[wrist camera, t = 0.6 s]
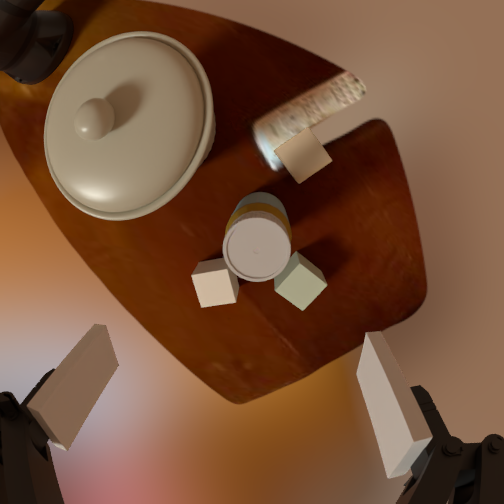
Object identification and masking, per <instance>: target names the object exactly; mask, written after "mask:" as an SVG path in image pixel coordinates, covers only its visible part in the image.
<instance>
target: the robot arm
mask: <svg viewBox="0 0 504 504" xmlns="http://www.w3.org/2000/svg"><path fill="white" fill-rule="evenodd" d="M44 1H45V0H0V71H4V72H5V73H6V74H8V75H9V76H10V77H12V78H13V79H14V80H15V81H17V82H19V83H22V84H28V85H33V84H37V83H39V82H41V81H43V80H44V79H45V78H47V77H48V76H49V75H50V74H51V73H52V72H53V71H54V70H55V69H56V67H57V66H58V65H59V63H60V62H61V61H62V59H63V57H64V56H65V54H66V52H67V50H68V48H69V45H70V42H71V39H72V35H73V23H72V20H71V18H70V17H69V16H68V15H66V14H64V13H62V12H60V11H55V10H54V11H44V10H39V11H35V10H36V9H37V8H38V7H39V6H40V5H41V4H42V3H43V2H44ZM118 366H119V364H118V361H117V358H116V356H115V352H114V350H113V346H112V343H111V340H110V337H109V333H108V330H107V327H106V325H99V324H94V326H93V327H92V328H91V329H90V330H89V331H88V332H87V333H86V335H85V336H84V337H83V338H82V339H81V340H80V341H79V342H78V344H77V345H76V346H75V347H74V348H73V349H72V350H71V352H70V353H69V354H68V355H67V356H66V358H65V359H64V360H63V361H62V362H61V364H60V365H59V366H58V367H57V368H56V369H52V370H50V371H49V372H47V373H46V374H45V375H44V376H43V377H42V378H41V380H40V382H38V383H37V385H36V387H34V388H33V389H32V391H31V392H30V393H29V394H28V396H27V397H26V398H25V399H24V401H23V402H22V403H21V404H19V403H18V401H17V400H16V398H15V397H14V395H13V394H12V393H11V392H2V393H0V504H64V501H63V498H62V494H61V491H60V488H59V484H58V481H57V477H56V473H55V470H54V465H53V462H52V457H51V452H50V447H49V445H48V444H47V441H48V439H50V440H51V441H52V443H53V444H54V445H55V446H56V447H59V448H61V449H63V450H65V451H68V450H69V448H70V446H71V444H72V442H73V441H74V439H75V437H76V435H77V434H78V432H79V430H80V428H81V427H82V425H83V423H84V421H85V420H86V418H87V416H88V415H89V413H90V411H91V409H92V408H93V406H94V405H95V403H96V401H97V400H98V398H99V396H100V394H101V393H102V391H103V390H104V388H105V387H106V385H107V383H108V382H109V380H110V379H111V377H112V375H113V374H114V372H115V371H116V369H117V367H118ZM356 375H357V377H358V381H359V384H360V387H361V389H362V393H363V396H364V399H365V402H366V405H367V408H368V412H369V415H370V418H371V421H372V424H373V428H374V431H375V435H376V438H377V442H378V445H379V448H380V452H381V456H382V459H383V463H384V466H385V470H386V474H387V477H388V479H389V478H393V477H397V476H401V475H405V474H406V473H407V471H408V470H409V469H410V468H411V470H412V473H413V475H412V476H411V477H410V478H409V480H408V481H407V482H406V483H405V484H404V486H406V487H405V489H404V490H403V492H402V494H401V495H400V497H399V499H398V500H397V502H396V504H446V503H447V501H448V504H504V438H503V437H501V436H500V435H497V434H491V435H488V436H487V437H485V439H484V440H483V441H482V442H481V443H463V442H462V441H461V440H460V439H459V438H457V437H453V436H451V435H450V434H449V432H448V430H447V428H446V426H445V424H444V422H443V420H442V418H441V416H440V414H439V412H438V410H436V406H435V404H434V403H433V400H432V398H431V396H430V395H429V393H428V392H427V391H426V390H425V389H424V388H423V387H421V386H420V385H419V386H414V387H409V385H408V383H407V381H406V379H405V377H404V375H403V373H402V371H401V369H400V367H399V365H398V363H397V361H396V360H395V357H394V355H393V354H392V352H391V350H390V348H389V346H388V344H387V342H386V341H385V339H384V337H383V336H382V333H381V331H380V332H366V336H365V340H364V345H363V349H362V354H361V358H360V362H359V366H358V370H357V374H356ZM448 499H449V500H448Z"/></svg>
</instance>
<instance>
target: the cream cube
mask: <svg viewBox="0 0 504 504" xmlns="http://www.w3.org/2000/svg"><path fill="white" fill-rule="evenodd" d="M191 276H192V279H193V282H194V286H195V289H196V292H197V295H198V298H199V301H200V305H201V307H208V306H215V305H222V304H228V303H235V302H236V300H237V295H238V290H239V284H238V280H237V276H236V274H235V273H233V272H232V271H231V269H230V268H229V267H228V265H227V263H226V261H225V259H224V258H219V259H214V260H208V261H203V262H199V263H198V265H197V267H196V268H195V270H194V272H193V273H192V275H191Z"/></svg>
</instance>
